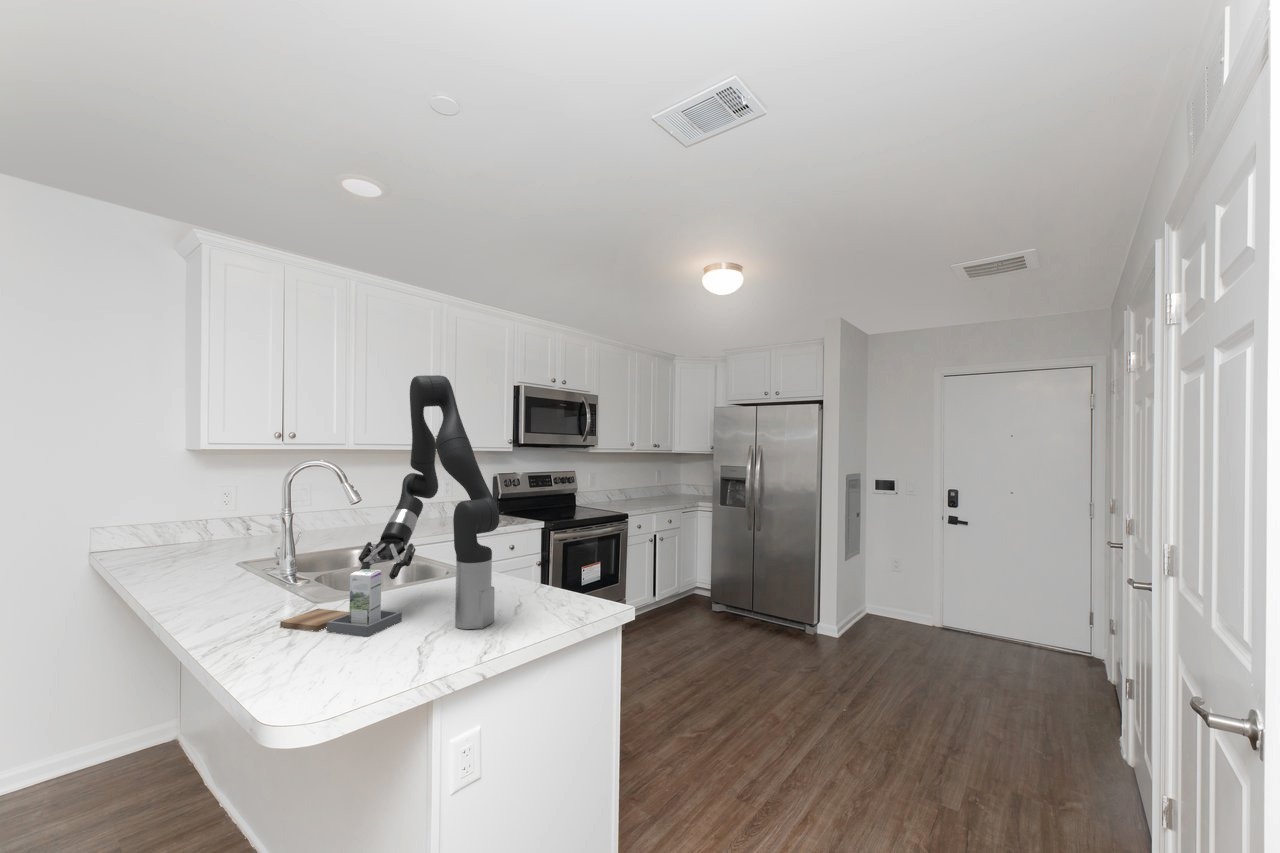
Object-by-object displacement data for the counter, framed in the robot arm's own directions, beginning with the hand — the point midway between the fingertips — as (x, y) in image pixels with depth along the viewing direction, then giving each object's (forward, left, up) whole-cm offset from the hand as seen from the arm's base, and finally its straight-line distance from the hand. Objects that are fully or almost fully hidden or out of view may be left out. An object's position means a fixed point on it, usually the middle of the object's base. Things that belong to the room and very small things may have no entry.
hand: (376, 577), depth 153 cm
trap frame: (0, +4, -12) cm, 13 cm away
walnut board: (+14, +5, -12) cm, 19 cm away
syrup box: (0, +4, -12) cm, 13 cm away
